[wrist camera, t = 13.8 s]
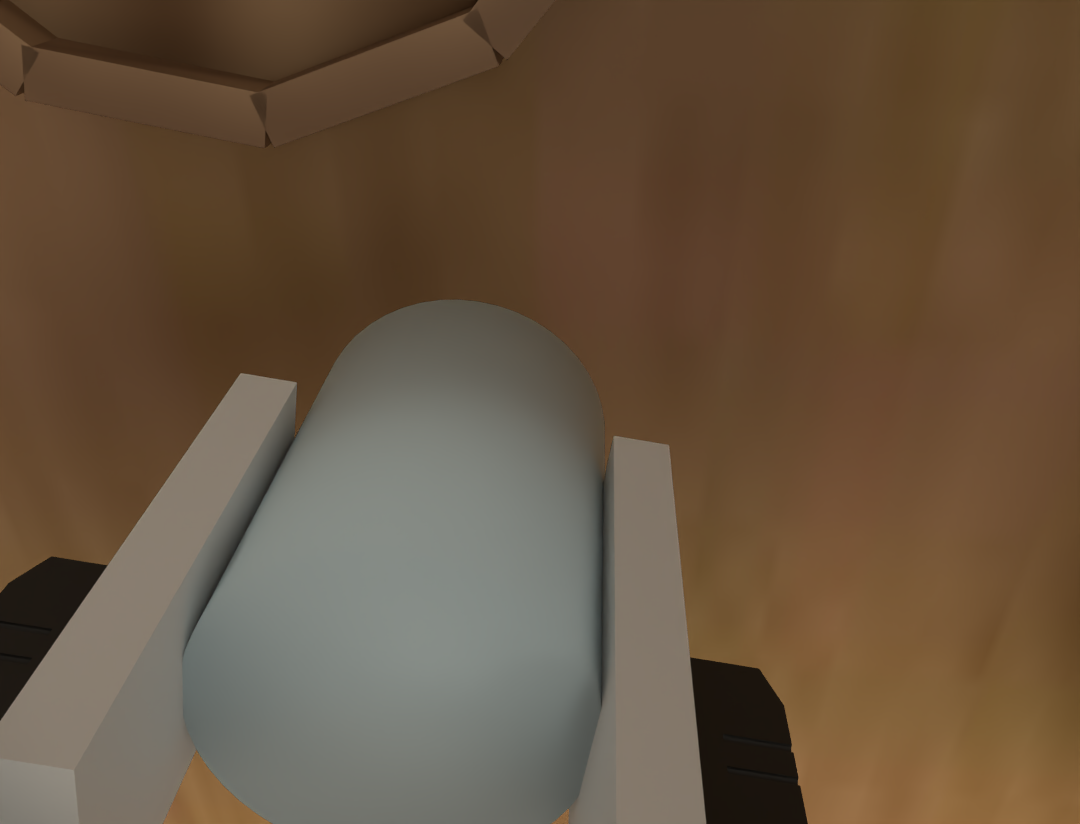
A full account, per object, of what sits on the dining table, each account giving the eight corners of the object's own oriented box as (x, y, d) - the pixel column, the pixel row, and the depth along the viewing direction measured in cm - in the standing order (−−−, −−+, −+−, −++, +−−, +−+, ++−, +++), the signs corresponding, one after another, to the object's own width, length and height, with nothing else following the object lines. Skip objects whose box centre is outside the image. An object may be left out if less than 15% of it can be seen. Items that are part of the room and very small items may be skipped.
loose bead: (629, 326, 15) (642, 589, 10) (579, 566, 17) (565, 888, 12) (328, 276, 15) (172, 516, 10) (314, 523, 17) (183, 830, 12)
